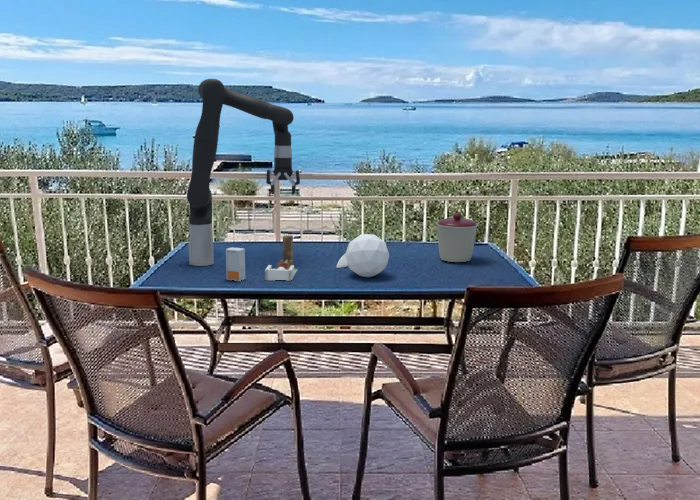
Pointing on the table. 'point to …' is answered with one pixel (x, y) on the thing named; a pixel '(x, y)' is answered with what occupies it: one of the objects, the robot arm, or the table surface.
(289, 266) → the guides
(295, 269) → the pale green square plate
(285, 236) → the brown thin block
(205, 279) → the table surface
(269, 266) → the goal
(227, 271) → the skincare box
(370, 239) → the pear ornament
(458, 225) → the canister
